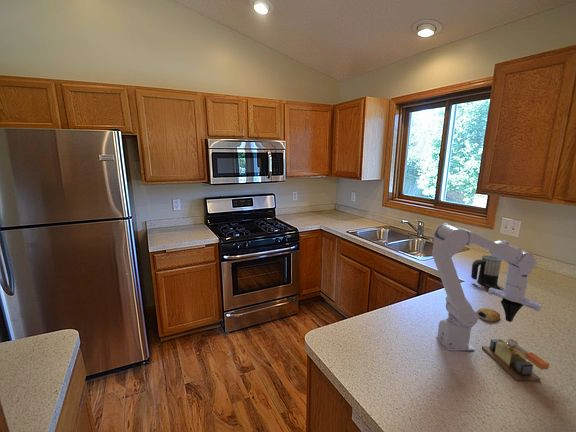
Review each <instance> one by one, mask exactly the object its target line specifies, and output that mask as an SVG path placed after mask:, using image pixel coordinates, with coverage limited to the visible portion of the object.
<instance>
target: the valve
mask: <svg viewBox="0 0 576 432" xmlns="http://www.w3.org/2000/svg"><path fill="white" fill-rule="evenodd" d="M489 344H490V345H489V346H490V348H489V349H490V350H492V351H495V356H496V357H497V358H499V359H500V360H501V361H502V362H503V363H504V364H505V365H506V366H507V367H509V368H514V369H515V370H516V373H518V374H519V375H531V374H532V372H533V370H534V369H533V368H534V364H533V363H531V362H530V361H528V360H527V359H526V358H525V355H524V354H523V353H521V352H520V351H519V350H517V349H516V348H512V347H510V346H508V345H507V341H504V340H503V339H502V338H501V339H500V338H499V339H498V338H493V339H490V343H489Z"/></svg>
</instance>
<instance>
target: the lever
mask: <svg viewBox="0 0 576 432" xmlns="http://www.w3.org/2000/svg"><path fill="white" fill-rule="evenodd" d="M506 342H507V345H508V346H510V347H512V348H516V349H517V350H519V351H520V352H521V353H523V354H524V355H525V358H526V361H528V362H530V363H532V364H533V366H534V365H535V366H536V367H537V368H538V369H540V371H541V370H543V371H544V370H549V367H550V364H549V362H547V361H545V360H544V359H542V358H541V357H539V356H538V355H536V354H535V353H534V352H528V351H527V350H526V349H525V348H523V347H522V346H520V345H518V344H519V343H518V341H516V340H514V339H510V338H508V339H507V341H506Z"/></svg>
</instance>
